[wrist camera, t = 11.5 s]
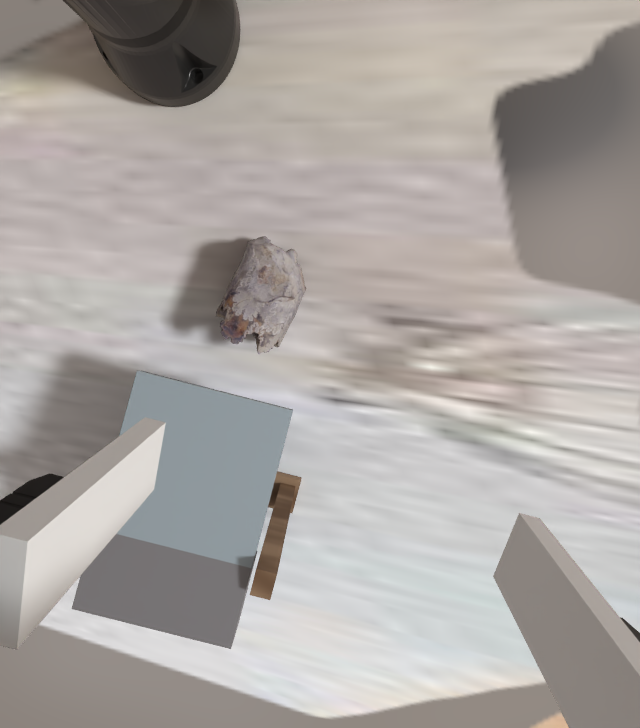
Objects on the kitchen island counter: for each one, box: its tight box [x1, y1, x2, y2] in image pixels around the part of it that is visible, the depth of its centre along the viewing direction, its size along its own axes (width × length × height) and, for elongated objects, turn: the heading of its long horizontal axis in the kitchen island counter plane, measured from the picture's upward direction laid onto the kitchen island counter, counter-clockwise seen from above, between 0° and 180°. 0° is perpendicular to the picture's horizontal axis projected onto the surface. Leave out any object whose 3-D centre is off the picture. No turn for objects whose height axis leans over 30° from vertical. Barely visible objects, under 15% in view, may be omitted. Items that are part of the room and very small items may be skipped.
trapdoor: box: [72, 371, 293, 649], centre depth 42 cm, size 24×16×4 cm, turn 164°
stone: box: [216, 236, 306, 354], centre depth 46 cm, size 8×12×7 cm, turn 152°
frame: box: [250, 472, 301, 600], centre depth 47 cm, size 5×22×17 cm, turn 76°
